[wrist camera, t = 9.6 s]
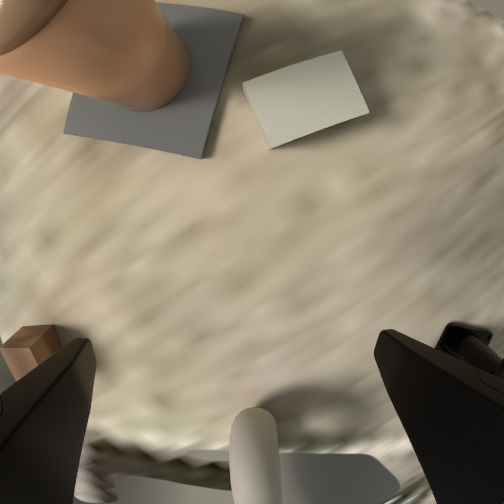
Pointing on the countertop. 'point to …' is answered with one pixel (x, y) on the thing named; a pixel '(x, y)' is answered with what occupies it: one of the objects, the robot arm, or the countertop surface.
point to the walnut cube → (30, 348)
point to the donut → (255, 458)
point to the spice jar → (95, 49)
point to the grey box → (304, 98)
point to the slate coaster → (184, 104)
